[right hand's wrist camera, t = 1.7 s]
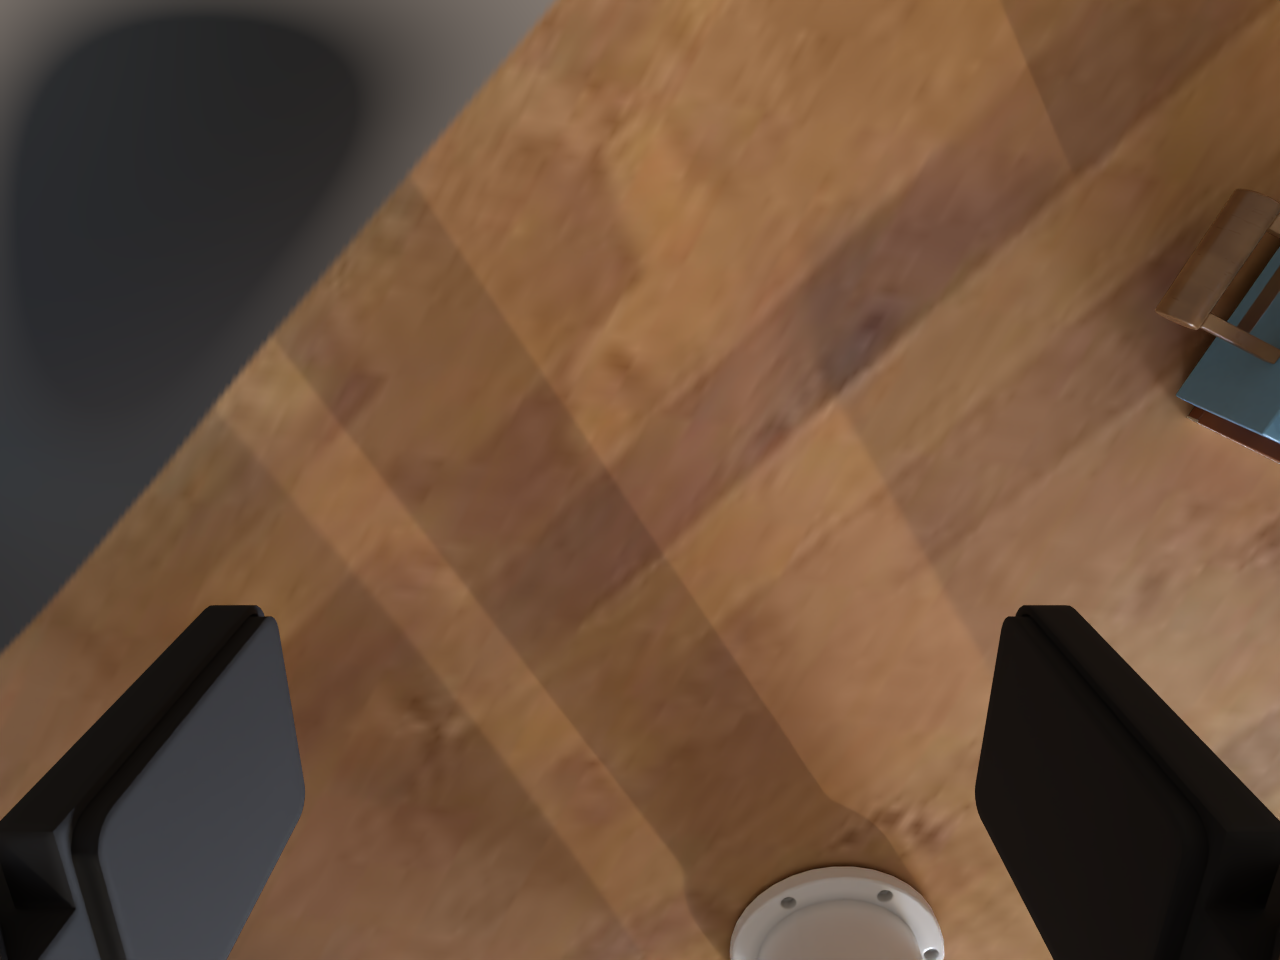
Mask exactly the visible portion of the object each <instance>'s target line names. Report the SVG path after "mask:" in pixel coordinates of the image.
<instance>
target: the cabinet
mask: <svg viewBox="0 0 1280 960" xmlns="http://www.w3.org/2000/svg"><path fill="white" fill-rule="evenodd" d="M1186 418H1188V419H1190V420H1192V421H1194V422H1196V423H1198V424H1200V425H1202V426H1204V427H1206V428H1208V429H1210V430H1212V431H1214V432H1216V433H1218V434H1220V435H1222V436H1224V437H1226V438H1228V439H1230V440H1232V441H1234V442H1236V443H1238V444H1241V445H1243V446H1245V447H1247V448H1249V449H1251V450H1253V451H1255V452H1257V453H1259V454H1261V455H1263V456H1265V457H1267V458H1269V459H1271V460H1273V461H1275V462H1277V463H1279V464H1280V444H1279V443H1277V442H1275V441H1273V440H1270V439H1268V438H1266V437H1264V436H1261V435H1259V434H1257V433H1255V432H1253V431H1250V430H1248V429H1246V428H1244V427H1241V426H1239V425H1237V424H1235V423H1232V422H1230V421H1228V420H1226V419H1223V418H1221V417H1219V416H1217V415H1215V414H1212V413H1210V412H1208V411H1206V410H1203V409H1201V408H1199V407H1197V406H1195V407H1194V409H1193V410H1192V411H1191V413H1190V414H1189V416H1187V417H1186Z"/></svg>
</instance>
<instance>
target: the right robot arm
mask: <svg viewBox="0 0 1280 960" xmlns="http://www.w3.org/2000/svg"><path fill="white" fill-rule="evenodd" d="M304 799H305V785H304V779H303V773H302V767H301V761H300V755H299V749H298V743H297V737H296V731H295V725H294V719H293V713H292V707H291V701H290V695H289V689H288V683H287V677H286V671H285V665H284V659H283V653H282V647H281V641H280V635H279V629H278V625H277V622H276V620H275V619H274V618H273V617H265V616H264V613H263V612H262V610H261V608H260V607H258V606H257V605H214V606H209V607H208V608H206V609H205V610H204V611H203V612H202V613H201V614H200V615H199V616H198V617H197V618H196V619H195V620H194V621H193V622H192V623H191V624H190V625H189V626H188V627H187V628H186V629H185V630H184V632H183V633H182V634H181V635H180V636H179V637H178V638H177V639H176V640H175V641H174V642H173V643H172V644H171V645H170V646H169V647H168V648H167V649H166V650H165V651H164V652H163V653H162V654H161V655H160V656H159V657H158V658H157V659H156V660H155V662H154V663H153V664H152V665H151V666H150V667H149V668H148V669H147V670H146V671H145V672H144V673H143V674H142V675H141V676H140V677H139V678H138V679H137V680H136V681H135V682H134V683H133V684H132V685H131V686H130V687H129V688H128V689H127V690H126V692H125V693H124V694H123V695H122V696H121V697H120V698H119V699H118V700H117V701H116V702H115V703H114V704H113V705H112V706H111V707H110V708H109V709H108V710H107V711H106V712H105V713H104V714H103V715H102V716H101V717H100V718H99V719H98V720H97V722H96V723H95V724H94V725H93V726H92V727H91V728H90V729H89V730H88V731H87V732H86V733H85V734H84V735H83V736H82V737H81V738H80V739H79V740H78V741H77V742H76V743H75V744H74V745H73V746H72V747H71V748H70V749H69V750H68V752H67V753H66V754H65V755H64V756H63V757H62V758H61V759H60V760H59V761H58V762H57V763H56V764H55V765H54V766H53V767H52V768H51V769H50V770H49V771H48V772H47V773H46V774H45V775H44V776H43V777H42V778H41V779H40V780H39V782H38V783H37V784H36V785H35V786H34V787H33V788H32V789H31V790H30V791H29V792H28V793H27V794H26V795H25V796H24V797H23V798H22V799H21V800H20V801H19V802H18V803H17V804H16V805H15V806H14V807H13V808H12V809H11V811H10V812H9V813H8V814H7V815H6V816H5V817H4V818H3V819H2V820H1V821H0V960H227V958H228V956H229V954H230V952H231V950H232V948H233V946H234V944H235V942H236V940H237V938H238V936H239V934H240V932H241V930H242V929H243V927H244V925H245V923H246V921H247V919H248V917H249V915H250V913H251V911H252V909H253V907H254V905H255V903H256V901H257V900H258V898H259V896H260V894H261V892H262V890H263V888H264V886H265V884H266V882H267V880H268V878H269V876H270V874H271V872H272V870H273V869H274V867H275V865H276V863H277V861H278V859H279V857H280V855H281V853H282V851H283V849H284V847H285V845H286V843H287V841H288V840H289V838H290V836H291V834H292V832H293V830H294V828H295V826H296V824H297V822H298V820H299V818H300V816H301V813H302V810H303V806H304ZM975 799H976V806H977V810H978V813H979V816H980V818H981V820H982V822H983V824H984V826H985V828H986V830H987V832H988V834H989V836H990V838H991V840H992V841H993V843H994V845H995V847H996V849H997V851H998V853H999V855H1000V857H1001V859H1002V861H1003V863H1004V865H1005V867H1006V869H1007V870H1008V872H1009V874H1010V876H1011V878H1012V880H1013V882H1014V884H1015V886H1016V888H1017V890H1018V892H1019V894H1020V896H1021V898H1022V900H1023V901H1024V903H1025V905H1026V907H1027V909H1028V911H1029V913H1030V915H1031V917H1032V919H1033V921H1034V923H1035V925H1036V927H1037V929H1038V930H1039V932H1040V934H1041V936H1042V938H1043V940H1044V942H1045V944H1046V946H1047V948H1048V950H1049V952H1050V954H1051V956H1052V958H1053V960H1280V821H1279V820H1278V819H1277V818H1276V817H1275V816H1274V815H1273V814H1272V813H1271V812H1270V811H1269V809H1268V808H1267V807H1266V806H1265V805H1264V804H1263V803H1262V802H1261V801H1260V800H1259V799H1258V798H1257V797H1256V796H1255V795H1254V794H1253V793H1252V792H1251V791H1250V790H1249V789H1248V788H1247V787H1246V786H1245V785H1244V784H1243V783H1242V782H1241V780H1240V779H1239V778H1238V777H1237V776H1236V775H1235V774H1234V773H1233V772H1232V771H1231V770H1230V769H1229V768H1228V767H1227V766H1226V765H1225V764H1224V763H1223V762H1222V761H1221V760H1220V759H1219V758H1218V757H1217V756H1216V755H1215V754H1214V753H1213V752H1212V750H1211V749H1210V748H1209V747H1208V746H1207V745H1206V744H1205V743H1204V742H1203V741H1202V740H1201V739H1200V738H1199V737H1198V736H1197V735H1196V734H1195V733H1194V732H1193V731H1192V730H1191V729H1190V728H1189V727H1188V726H1187V725H1186V724H1185V723H1184V722H1183V720H1182V719H1181V718H1180V717H1179V716H1178V715H1177V714H1176V713H1175V712H1174V711H1173V710H1172V709H1171V708H1170V707H1169V706H1168V705H1167V704H1166V703H1165V702H1164V701H1163V700H1162V699H1161V698H1160V697H1159V696H1158V695H1157V694H1156V693H1155V692H1154V690H1153V689H1152V688H1151V687H1150V686H1149V685H1148V684H1147V683H1146V682H1145V681H1144V680H1143V679H1142V678H1141V677H1140V676H1139V675H1138V674H1137V673H1136V672H1135V671H1134V670H1133V669H1132V668H1131V667H1130V666H1129V665H1128V664H1127V663H1126V662H1125V660H1124V659H1123V658H1122V657H1121V656H1120V655H1119V654H1118V653H1117V652H1116V651H1115V650H1114V649H1113V648H1112V647H1111V646H1110V645H1109V644H1108V643H1107V642H1106V641H1105V640H1104V639H1103V638H1102V637H1101V636H1100V635H1099V634H1098V633H1097V632H1096V630H1095V629H1094V628H1093V627H1092V626H1091V625H1090V624H1089V623H1088V622H1087V621H1086V620H1085V619H1084V618H1083V617H1082V616H1081V615H1080V614H1079V613H1078V612H1077V611H1076V610H1075V609H1074V608H1072V607H1071V606H1066V605H1023V606H1022V607H1020V608H1019V610H1018V612H1017V613H1016V616H1015V617H1007V618H1006V619H1005V620H1004V622H1003V625H1002V629H1001V635H1000V641H999V647H998V653H997V659H996V665H995V671H994V677H993V683H992V689H991V695H990V701H989V707H988V713H987V719H986V725H985V731H984V737H983V743H982V749H981V755H980V761H979V767H978V773H977V779H976V785H975ZM943 959H944V939H943V936H942V933H941V929H940V926H939V924H938V921H937V919H936V917H935V915H934V912H933V910H932V908H931V907H930V905H929V904H928V903H927V901H926V900H925V899H924V898H923V896H922V895H921V894H920V893H918V892H917V891H916V890H915V889H914V888H912V887H911V886H910V885H909V884H907V883H905V882H903V881H901V880H899V879H898V878H896V877H894V876H892V875H889V874H886V873H883V872H880V871H876V870H873V869H866V868H860V867H826V868H819V869H813V870H809V871H806V872H802V873H799V874H796V875H793V876H790V877H788V878H786V879H784V880H782V881H780V882H778V883H776V884H774V885H773V886H771V887H770V888H768V889H767V890H765V891H764V892H763V893H761V894H760V895H758V896H757V897H756V898H755V899H754V900H753V901H752V902H751V903H750V904H749V905H748V906H747V907H746V909H745V910H744V912H743V913H742V915H741V916H740V918H739V919H738V921H737V923H736V926H735V928H734V931H733V934H732V936H731V944H730V960H943Z"/></svg>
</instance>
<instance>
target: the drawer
mask: <svg viewBox="0 0 1280 960" xmlns="http://www.w3.org/2000/svg"><path fill="white" fill-rule="evenodd" d="M1279 212H1280V204H1279V203H1278V202H1277V201H1275V200H1274V199H1272V198H1270V197H1268V196H1266V195H1263V194H1261V193H1258V192H1255V191H1251V190H1246V189H1237V190H1235V191H1234V192H1233V194H1232V195H1231V197H1230V198H1229V200H1228V201H1227V203H1226V204H1225V206H1224V207H1223V209H1222V210H1221V212H1220V213H1219V215H1218V216H1217V218H1216V219H1215V221H1214V222H1213V224H1212V225H1211V227H1210V228H1209V230H1208V231H1207V233H1206V234H1205V236H1204V237H1203V239H1202V240H1201V242H1200V243H1199V245H1198V246H1197V248H1196V249H1195V251H1194V252H1193V254H1192V255H1191V257H1190V258H1189V260H1188V261H1187V263H1186V264H1185V266H1184V267H1183V269H1182V270H1181V272H1180V273H1179V275H1178V276H1177V278H1176V279H1175V281H1174V282H1173V284H1172V285H1171V287H1170V288H1169V290H1168V291H1167V293H1166V294H1165V296H1164V297H1163V299H1162V300H1161V302H1160V303H1159V305H1158V306H1157V308H1156V309H1155V311H1156V313H1158V314H1159V315H1161V316H1163V317H1164V318H1166V319H1169V320H1171V321H1173V322H1175V323H1177V324H1180V325H1182V326H1184V327H1187V328H1190V329H1193V330H1198V329H1199V328H1201V329H1203V330H1205V331H1207V332H1209V333H1211V334H1212V335H1214V336H1216V338H1215V339H1214V341H1213V342H1212V344H1211V345H1210V347H1209V348H1208V349H1207V351H1206V352H1205V354H1204V355H1203V357H1202V358H1201V359H1200V361H1199V362H1198V364H1197V365H1196V367H1195V368H1194V369H1193V371H1192V372H1191V374H1190V375H1189V377H1188V378H1187V379H1186V381H1185V382H1184V384H1183V385H1182V387H1181V388H1180V389H1179V391H1178V392H1177V394H1176V396H1177V397H1178V398H1180V399H1182V400H1184V401H1186V402H1188V403H1190V404H1192V405H1194V406H1197V407H1199V408H1201V409H1203V410H1206V411H1208V412H1210V413H1212V414H1215V415H1217V416H1219V417H1221V418H1223V419H1226V420H1228V421H1230V422H1232V423H1235V424H1237V425H1239V426H1241V427H1244V428H1246V429H1248V430H1250V431H1253V432H1255V433H1257V434H1259V435H1261V436H1264V437H1266V438H1268V439H1270V440H1273V441H1275V442H1277V443H1279V444H1280V247H1279V248H1278V250H1277V251H1276V253H1275V254H1274V255H1273V257H1272V258H1271V260H1270V261H1269V262H1268V264H1267V265H1266V267H1265V268H1264V270H1263V271H1262V272H1261V274H1260V275H1259V277H1258V278H1257V280H1256V281H1255V282H1254V284H1253V285H1252V287H1251V288H1250V290H1249V291H1248V292H1247V294H1246V295H1245V297H1244V298H1243V300H1242V301H1241V302H1240V304H1239V305H1238V307H1237V308H1236V310H1235V311H1234V312H1233V314H1232V315H1231V317H1230V318H1229V320H1228V321H1227V322H1226V321H1225V320H1223V319H1221V318H1219V317H1217V316H1215V315H1213V314H1211V313H1210V312H1211V310H1212V309H1213V308H1214V306H1215V305H1216V303H1217V302H1218V300H1219V299H1220V297H1221V296H1222V294H1223V293H1224V292H1225V290H1226V289H1227V287H1228V286H1229V284H1230V283H1231V281H1232V280H1233V279H1234V277H1235V276H1236V274H1237V273H1238V271H1239V270H1240V268H1241V267H1242V266H1243V264H1244V263H1245V261H1246V260H1247V258H1248V257H1249V255H1250V254H1251V253H1252V251H1253V250H1254V248H1255V247H1256V245H1257V244H1258V242H1259V241H1260V240H1261V238H1262V237H1263V235H1264V234H1265V232H1266V231H1267V232H1268V233H1270V234H1272V235H1274V236H1276V237H1278V238H1279V239H1280V214H1279Z"/></svg>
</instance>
